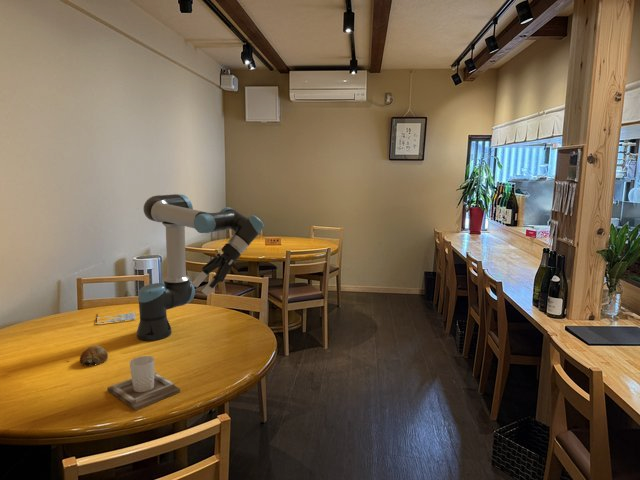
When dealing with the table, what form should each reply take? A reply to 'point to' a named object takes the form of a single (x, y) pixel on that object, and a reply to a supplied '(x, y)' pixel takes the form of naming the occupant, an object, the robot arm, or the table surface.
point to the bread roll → (93, 355)
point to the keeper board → (143, 399)
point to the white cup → (142, 373)
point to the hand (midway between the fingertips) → (198, 289)
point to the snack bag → (127, 317)
